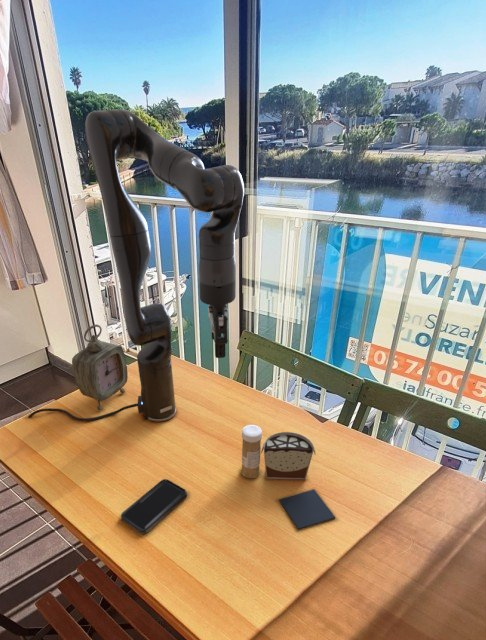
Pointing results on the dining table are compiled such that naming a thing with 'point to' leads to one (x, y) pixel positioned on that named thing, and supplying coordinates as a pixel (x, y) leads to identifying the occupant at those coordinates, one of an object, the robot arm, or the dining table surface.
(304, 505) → the slate coaster
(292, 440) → the food container
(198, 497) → the dining table surface
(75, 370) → the tabletop clock
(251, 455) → the sprinkles bottle
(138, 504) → the phone
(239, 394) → the dining table surface
